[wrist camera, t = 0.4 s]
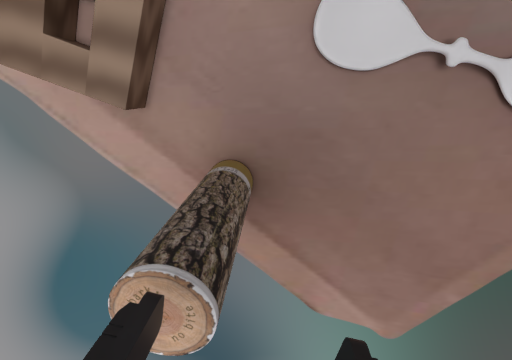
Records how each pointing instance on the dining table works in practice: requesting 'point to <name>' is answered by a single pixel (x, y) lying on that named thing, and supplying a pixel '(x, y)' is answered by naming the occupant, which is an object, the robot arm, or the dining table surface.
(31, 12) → the hole block
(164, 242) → the paper tube
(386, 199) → the dining table surface
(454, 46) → the spoon
